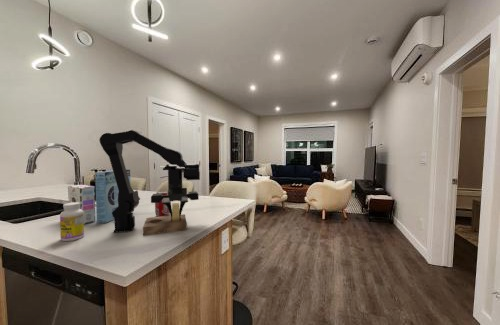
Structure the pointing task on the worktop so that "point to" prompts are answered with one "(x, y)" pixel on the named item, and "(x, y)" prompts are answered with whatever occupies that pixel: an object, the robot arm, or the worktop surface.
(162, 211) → the soda can
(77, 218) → the supplement bottle
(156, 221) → the bit block
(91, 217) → the candy box
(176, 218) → the pale yellow block
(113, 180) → the light blue cardboard box
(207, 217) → the worktop surface
